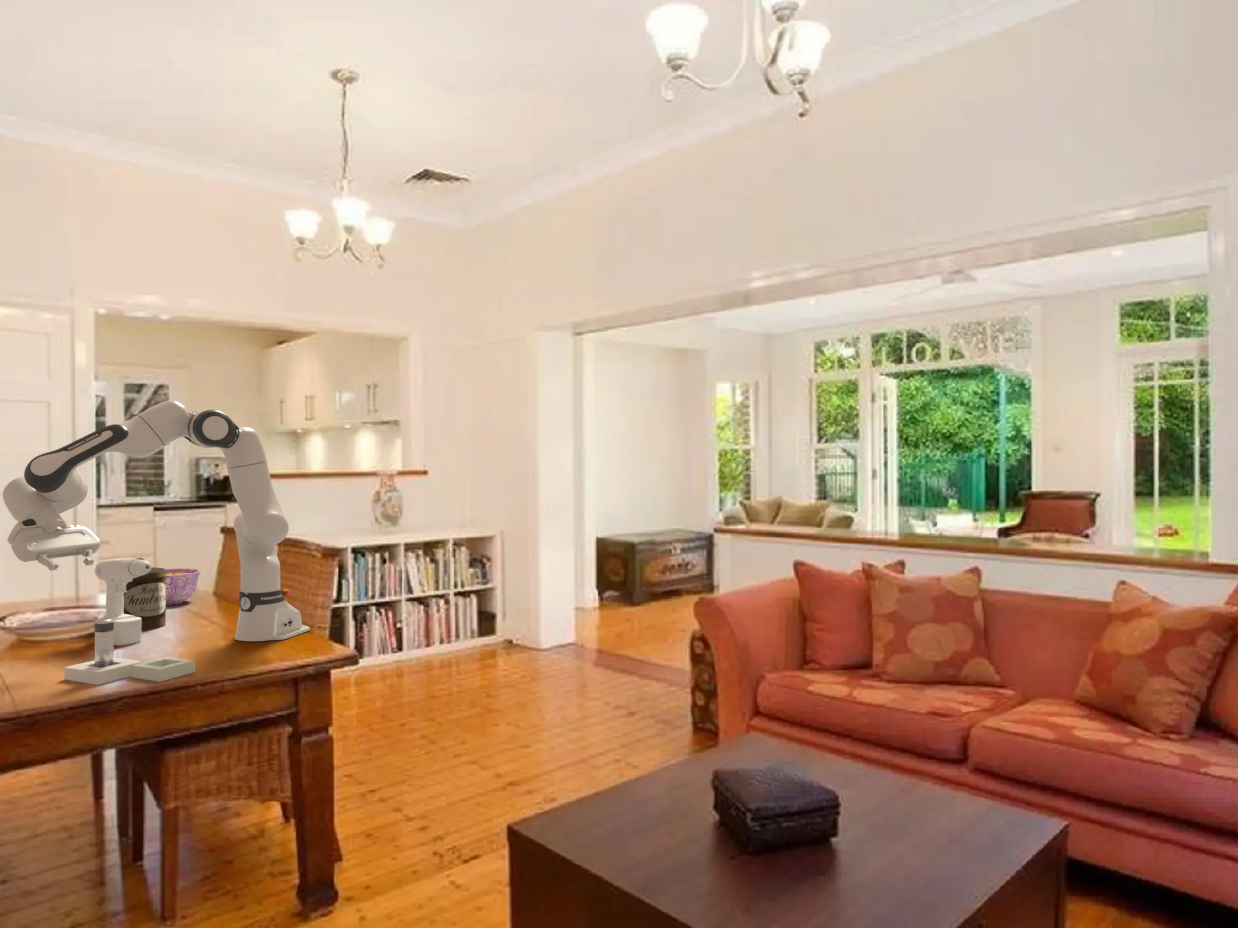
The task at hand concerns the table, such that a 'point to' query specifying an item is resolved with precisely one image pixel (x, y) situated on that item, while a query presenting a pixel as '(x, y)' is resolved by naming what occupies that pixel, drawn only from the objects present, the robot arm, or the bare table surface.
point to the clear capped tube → (104, 642)
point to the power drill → (121, 596)
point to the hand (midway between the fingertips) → (73, 566)
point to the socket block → (99, 671)
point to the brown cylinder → (147, 598)
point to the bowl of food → (180, 584)
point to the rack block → (162, 669)
